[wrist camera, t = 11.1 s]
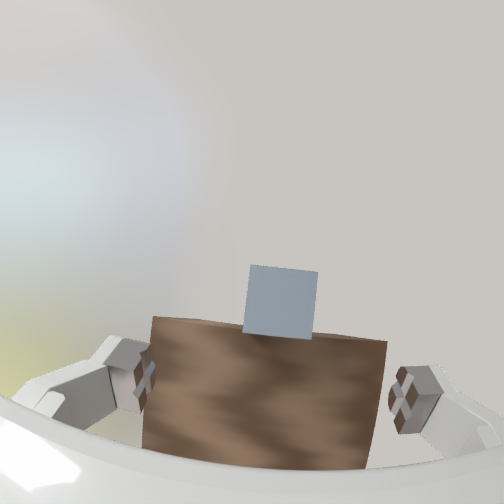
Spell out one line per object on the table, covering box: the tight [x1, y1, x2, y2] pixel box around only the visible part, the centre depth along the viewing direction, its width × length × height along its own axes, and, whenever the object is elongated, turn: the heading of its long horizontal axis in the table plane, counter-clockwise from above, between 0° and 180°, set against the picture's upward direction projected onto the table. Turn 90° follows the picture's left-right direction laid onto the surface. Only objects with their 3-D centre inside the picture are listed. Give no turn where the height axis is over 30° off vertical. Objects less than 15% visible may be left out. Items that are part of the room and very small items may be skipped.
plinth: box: [142, 316, 387, 471], centre depth 22 cm, size 14×14×26 cm
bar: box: [242, 265, 318, 340], centre depth 27 cm, size 3×26×3 cm, turn 178°
